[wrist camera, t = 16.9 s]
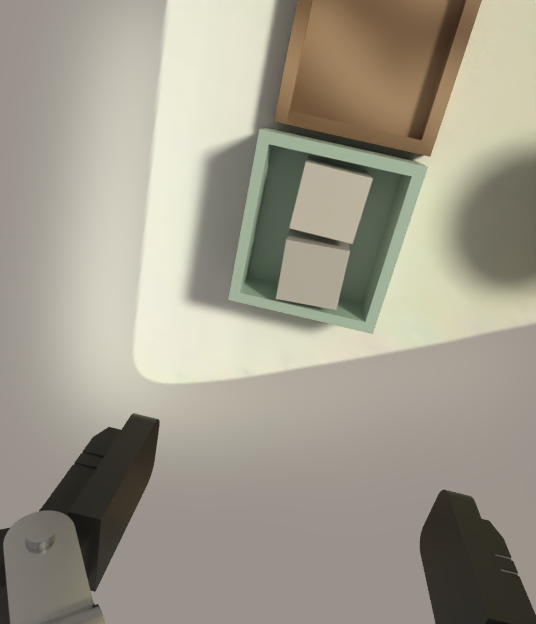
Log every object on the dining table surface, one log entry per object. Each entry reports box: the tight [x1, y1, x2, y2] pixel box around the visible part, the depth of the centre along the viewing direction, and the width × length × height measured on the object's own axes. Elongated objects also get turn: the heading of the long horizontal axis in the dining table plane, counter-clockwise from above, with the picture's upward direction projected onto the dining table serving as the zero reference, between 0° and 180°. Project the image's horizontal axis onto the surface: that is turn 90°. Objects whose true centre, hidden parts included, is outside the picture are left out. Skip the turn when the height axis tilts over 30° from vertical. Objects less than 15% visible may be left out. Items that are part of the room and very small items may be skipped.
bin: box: [228, 128, 428, 334], centre depth 31 cm, size 11×10×4 cm
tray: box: [274, 0, 482, 156], centre depth 27 cm, size 15×10×2 cm, turn 168°
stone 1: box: [289, 157, 373, 244], centre depth 30 cm, size 4×4×4 cm
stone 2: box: [276, 228, 350, 310], centre depth 31 cm, size 4×4×4 cm
